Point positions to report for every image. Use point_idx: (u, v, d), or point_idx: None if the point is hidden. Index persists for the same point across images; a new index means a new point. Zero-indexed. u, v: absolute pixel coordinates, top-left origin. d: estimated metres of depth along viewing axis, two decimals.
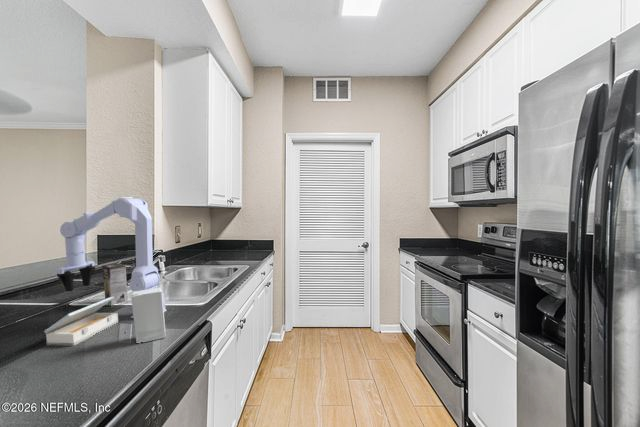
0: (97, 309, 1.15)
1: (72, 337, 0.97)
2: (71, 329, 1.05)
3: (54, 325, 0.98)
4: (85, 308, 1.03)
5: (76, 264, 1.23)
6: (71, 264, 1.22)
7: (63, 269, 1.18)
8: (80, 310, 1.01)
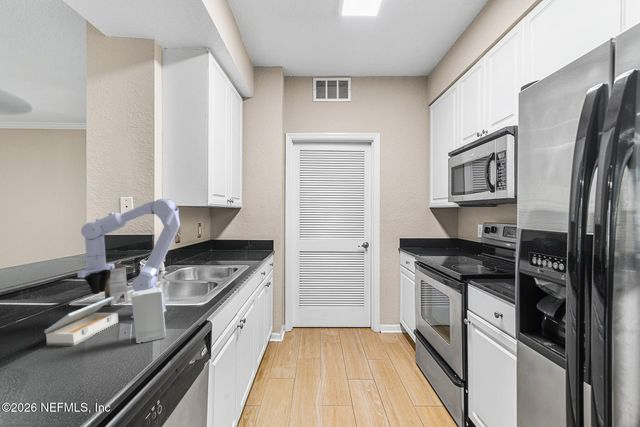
0: (97, 309, 1.15)
1: (72, 337, 0.97)
2: (71, 329, 1.05)
3: (54, 325, 0.98)
4: (85, 308, 1.03)
5: (97, 267, 1.16)
6: (92, 267, 1.15)
7: (84, 272, 1.12)
8: (80, 310, 1.01)
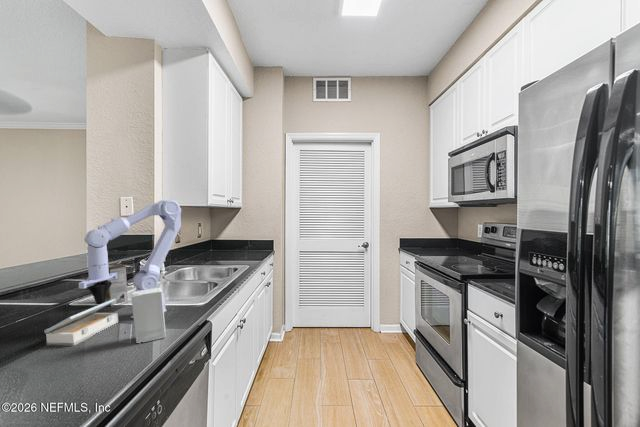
0: None
1: (72, 337, 0.97)
2: (71, 329, 1.05)
3: (55, 326, 0.98)
4: (87, 311, 1.03)
5: (99, 277, 1.09)
6: (94, 277, 1.09)
7: (85, 283, 1.05)
8: (82, 313, 1.01)
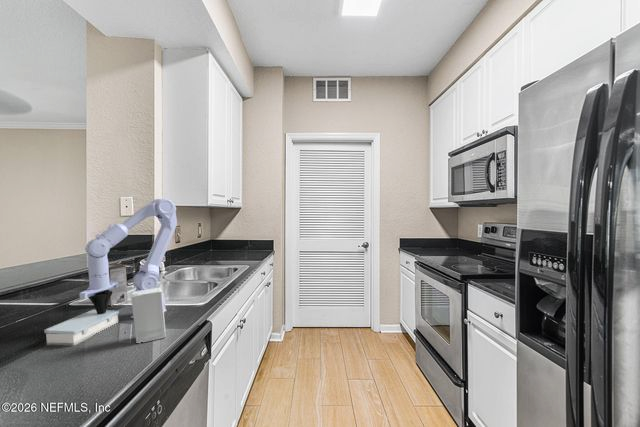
0: None
1: (72, 337, 0.97)
2: None
3: (56, 332, 0.98)
4: (90, 325, 1.03)
5: (100, 287, 1.09)
6: (94, 287, 1.09)
7: (86, 293, 1.05)
8: (85, 327, 1.01)
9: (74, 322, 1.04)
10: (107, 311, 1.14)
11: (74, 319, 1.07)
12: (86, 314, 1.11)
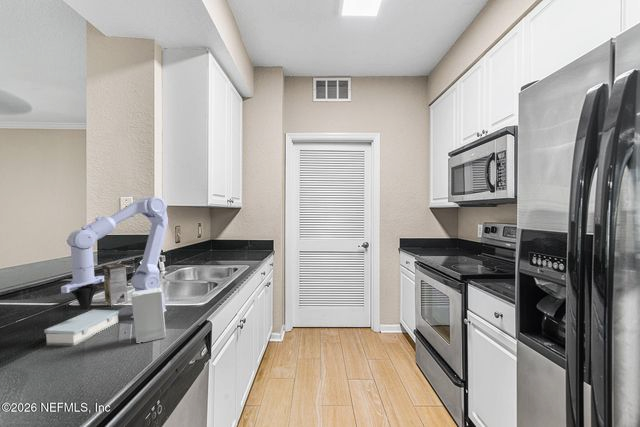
0: None
1: (72, 337, 0.97)
2: None
3: (56, 332, 0.98)
4: (90, 325, 1.03)
5: (84, 281, 1.03)
6: (78, 281, 1.03)
7: (68, 287, 0.99)
8: (85, 327, 1.01)
9: (74, 322, 1.04)
10: (107, 311, 1.14)
11: (74, 319, 1.07)
12: (86, 314, 1.11)
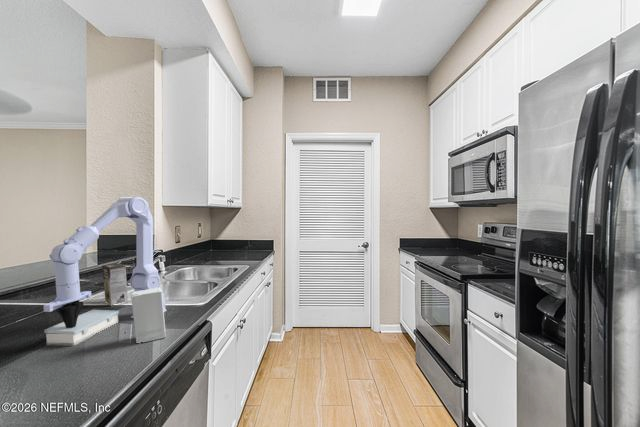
0: None
1: (72, 337, 0.97)
2: None
3: (56, 332, 0.98)
4: (90, 325, 1.03)
5: (68, 298, 0.98)
6: (62, 298, 0.97)
7: (51, 306, 0.93)
8: (85, 327, 1.01)
9: None
10: (107, 311, 1.14)
11: None
12: (86, 314, 1.11)
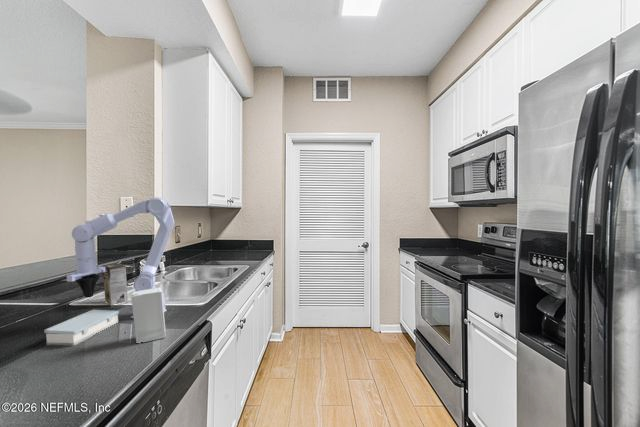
0: None
1: (72, 337, 0.97)
2: None
3: (56, 332, 0.98)
4: (90, 325, 1.03)
5: (87, 270, 1.13)
6: (82, 271, 1.12)
7: (73, 276, 1.08)
8: (85, 327, 1.01)
9: (74, 322, 1.04)
10: (107, 311, 1.14)
11: (74, 319, 1.07)
12: (86, 314, 1.11)
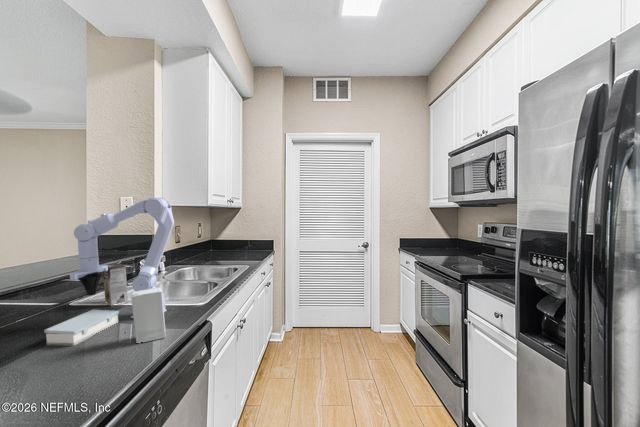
0: None
1: (72, 337, 0.97)
2: None
3: (56, 332, 0.98)
4: (90, 325, 1.03)
5: (89, 269, 1.15)
6: (84, 269, 1.15)
7: (76, 275, 1.11)
8: (85, 327, 1.01)
9: (74, 322, 1.04)
10: (107, 311, 1.14)
11: (74, 319, 1.07)
12: (86, 314, 1.11)
